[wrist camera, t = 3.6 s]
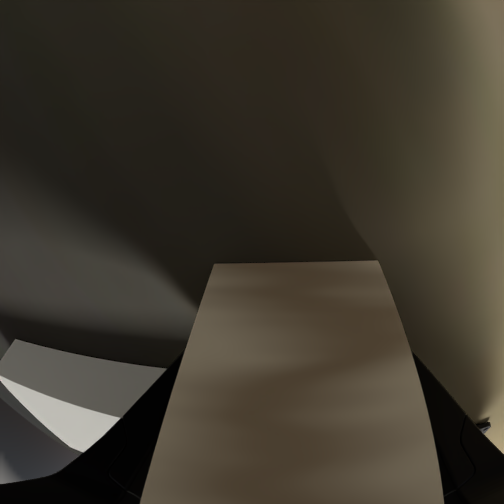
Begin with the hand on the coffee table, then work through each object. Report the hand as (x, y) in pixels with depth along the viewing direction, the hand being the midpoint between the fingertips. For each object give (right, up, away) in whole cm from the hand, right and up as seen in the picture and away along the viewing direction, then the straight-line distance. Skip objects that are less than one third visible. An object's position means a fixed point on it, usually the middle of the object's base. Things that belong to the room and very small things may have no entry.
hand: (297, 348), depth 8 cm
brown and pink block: (0, +1, +2) cm, 2 cm away
